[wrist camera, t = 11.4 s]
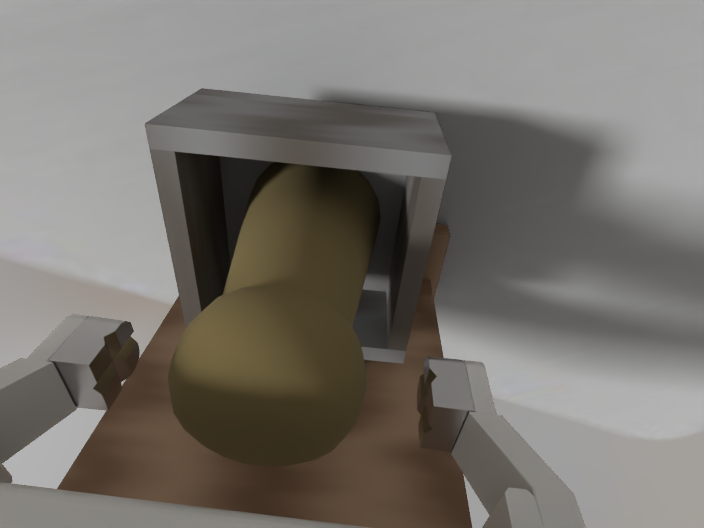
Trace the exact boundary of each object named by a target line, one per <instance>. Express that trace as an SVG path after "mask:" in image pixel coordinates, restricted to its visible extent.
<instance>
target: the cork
mask: <svg viewBox="0 0 704 528" xmlns="http://www.w3.org/2000/svg"><path fill="white" fill-rule="evenodd" d="M380 219H381V217H380V209H379V200H378V198H377V196H376V194H375V192H374V190H373V188H372V186H371V184H370V182H369V181H368V180H367V179H366V178H365V177H364V176H363V175H362V174H361V173H360V172H359V171H358V170H350V169H340V168H330V167H320V166H311V165H301V164H291V163H282V162H274V163H272V164H270V165H269V166H268V167H267V168H266V170H265V171H264V172H263V173H262V174H261V175H260V176H259V177H258V178H257V180H256V182H255V185H254V187H253V190H252V192H251V194H250V197H249V201H248V205H247V208H246V212H245V216H244V219H243V223H242V226H241V230H240V234H239V237H238V241H237V245H236V248H235V252H234V255H233V259H232V263H231V266H230V270H229V273H228V277H227V281H226V284H225V288H224V292H223V295H222V296H219V297H217V298H216V299H215V300H214V301H213V302H212V303H211V304H210V305H208V306H207V307H206V308H205V309H204V310H203V311H202V312H201V313H200V314H199V315H198V316H196V317H195V318H194V319H193V320H192V321H191V322H190V323H189V324H188V326H187V327H186V329H185V331H184V333H183V334H182V336H181V338H180V340H179V342H178V344H177V347H176V349H175V352H174V354H173V357H172V360H171V364H170V369H169V374H168V383H169V390H170V397H171V403H172V408H173V413H174V415H175V416H176V418H177V419H178V421H179V423H180V424H181V426H182V427H183V429H184V430H185V431H186V432H188V433H189V434H190V435H191V436H192V437H193V438H195V439H196V440H197V441H198V442H199V443H200V444H202V445H203V446H204V447H206V448H208V449H210V450H212V451H213V452H215V453H217V454H219V455H221V456H223V457H225V458H229V459H232V460H235V461H238V462H241V463H244V464H251V465H258V466H265V467H276V466H290V465H295V464H299V463H304V462H308V461H313V460H316V459H318V458H320V457H322V456H324V455H326V454H328V453H330V452H332V451H333V450H334V449H335V448H336V447H337V446H338V444H339V443H340V442H341V441H342V440H343V439H344V438H345V437H346V435H347V434H348V433H349V432H350V431H351V429H352V428H353V427H354V426H355V424H356V421H357V418H358V415H359V412H360V409H361V406H362V402H363V399H364V396H365V392H366V367H365V362H364V356H363V351H362V348H361V344H360V341H359V338H358V336H357V334H356V333H355V331H354V330H353V328H352V327H353V323H354V319H355V316H356V312H357V308H358V304H359V301H360V297H361V293H362V289H363V285H364V282H365V278H366V274H367V270H368V266H369V263H370V259H371V255H372V251H373V247H374V244H375V240H376V236H377V232H378V228H379V224H380Z"/></svg>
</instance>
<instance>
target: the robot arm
mask: <svg viewBox="0 0 704 528" xmlns="http://www.w3.org/2000/svg"><path fill="white" fill-rule="evenodd" d="M133 332H134V330H133V328H132V325H131V323H130V322H127V321H121V320H114V319H107V318H100V317H93V316H84V315H77V314H72V315H69V316H67V317H66V318H65V319H64V320H63V321H62V322H61V323H60V324H59V325H58V326H57V327H56V328H55V329H54V331H52V333H51V334H50V335H49V336H48V337H47V338H46V339H45V340H44V341H43V342H42V343H41V344H40V345H39V346H38V347H37V348H36V349H35V350H34V352H33V353H32V354H31V355H30V356H29V357H28V358H27V359H24V358H20V359H18V360H16V361H14V362H12V363H10V364H8V365H6V366H4V367H2V368H0V528H369V527H361V526H353V525H345V524H337V523H329V522H321V521H313V520H304V519H296V518H288V517H280V516H272V515H264V514H256V513H248V512H239V511H231V510H223V509H215V508H207V507H199V506H190V505H182V504H174V503H166V502H158V501H149V500H141V499H133V498H125V497H117V496H108V495H100V494H92V493H84V492H76V491H68V490H59V489H51V488H43V487H35V486H27V485H18V484H11V482H12V476H11V475H10V473H9V472H8V471H7V470H6V468H5V467H4V466H3V465H2V463H3V462H5V461H6V460H8V459H9V458H10V457H12V456H13V455H14V454H16V453H17V452H18V451H20V450H21V449H23V448H24V447H25V446H27V445H28V444H30V443H31V442H32V441H34V440H35V439H36V438H38V437H39V436H41V435H42V434H43V433H45V432H46V431H47V430H49V429H50V428H51V427H53V426H54V425H56V424H57V423H58V422H60V421H61V420H63V419H64V418H65V417H67V416H68V415H69V414H71V413H72V412H74V411H75V410H76V409H77V408H88V409H98V410H109V409H110V408H111V406H112V404H113V403H114V401H115V400H116V398H117V397H118V395H119V394H120V392H121V391H122V386H121V382H122V381H123V380H125V379H127V378H128V377H130V376H131V375H132V373H133V372H134V370H135V368H136V366H137V363H138V360H139V346H138V343H137V342H136V341H135V340H134V339H133V338H131V337H130V336H131V334H132V333H133ZM423 370H424V374H422V375H421V376H420V378H419V383H418V389H417V411H418V412H419V413H420V414H421V417H420V420H419V424H418V431H419V445H420V448H424V449H431V450H438V451H444V452H451V455H452V456H453V458H454V459H455V461H456V463H457V464H458V466H459V467H460V469H461V471H462V472H463V474H464V475H465V477H466V478H467V480H468V482H469V483H470V485H471V486H472V488H473V490H474V491H475V493H476V494H477V496H478V498H479V499H480V501H481V502H482V504H483V505H484V507H485V508H486V510H487V512H488V513H489V515H490V516H489V518H488V519H487V521H486V523H485V524H484V526H483V528H586V527H585V524H584V521H583V518H582V515H581V512H580V510H579V507H578V504H577V501H576V498H575V496H574V493H573V492H572V491H571V490H570V489H569V488H568V487H567V486H566V485H565V484H564V483H563V481H562V480H561V479H560V478H559V477H558V476H557V475H556V474H555V473H554V472H553V470H552V469H551V468H550V467H549V466H548V465H547V464H546V463H545V462H544V461H543V460H542V459H541V457H540V456H539V455H538V454H537V453H536V452H535V451H534V450H533V449H532V448H531V446H530V445H529V444H528V443H527V442H526V441H525V440H524V439H523V438H522V437H521V436H520V434H519V433H518V432H517V431H516V430H515V429H514V428H513V427H512V426H511V425H510V423H508V421H507V420H506V419H505V418H504V417H503V416H501V415H497V414H496V410H495V406H494V402H493V398H492V394H491V390H490V386H489V382H488V378H487V374H486V370H485V366H484V364H483V363H482V362H474V361H466V360H458V359H448V358H439V357H430V356H427V357H426V358H425V361H424V364H423ZM76 407H77V408H76Z"/></svg>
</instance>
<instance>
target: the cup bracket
mask: <svg viewBox="0 0 704 528" xmlns="http://www.w3.org/2000/svg"><path fill="white" fill-rule="evenodd" d="M145 128H146V133H147V138H148V143H149V148H150V153H151V158H152V163H153V168H154V173H155V178H156V183H157V188H158V193H159V198H160V203H161V207H162V212H163V217H164V222H165V227H166V232H167V237H168V242H169V247H170V252H171V257H172V262H173V267H174V272H175V277H176V282H177V287H178V292H179V297H178V298H177V300H176V301H175V303H174V305H173V306H172V308H171V309H170V311H169V313H168V314H167V316H166V317H165V319H164V320H163V322H162V324H161V325H160V327H159V329H158V330H157V332H156V333H155V335H154V336H153V338H152V340H151V341H150V343H149V344H148V346H147V347H146V349H145V351H144V352H143V354H142V355H141V357H140V358H139V360H138V363H137V366H136V368H135V370H134V372H133V373H132V375H131V376H130V377H128V378H127V379H126V381H125V382H124V384H123V385H122V391H121V392H120V394H119V395H118V397H117V398H116V400H115V401H114V403H113V404H112V406H111V408H110V409H109V410H107V411H106V412H105V414H104V416H103V417H102V419H101V420H100V422H99V424H98V425H97V427H96V429H95V430H94V432H93V433H92V434H91V436H90V438H89V439H88V441H87V442H86V444H85V446H84V447H83V449H82V450H81V452H80V453H79V455H78V457H77V458H76V460H75V461H74V463H73V465H72V466H71V468H70V469H69V471H68V473H67V474H66V476H65V477H64V479H63V481H62V482H61V484H60V485H59V487H58V488H57V489H59V490H68V491H76V492H84V493H92V494H100V495H108V496H117V497H125V498H133V499H141V500H149V501H158V502H166V503H174V504H182V505H190V506H199V507H207V508H215V509H223V510H231V511H239V512H248V513H256V514H264V515H272V516H280V517H288V518H296V519H304V520H313V521H321V522H329V523H337V524H345V525H353V526H361V527H369V528H472V524H471V518H470V512H469V507H468V500H467V494H466V488H465V482H464V476H463V472H462V471H461V469H460V467H459V466H458V464H457V463H456V461H455V459H454V458H453V456H452V455H451V452H444V451H438V450H431V449H424V448H420V445H419V431H418V424H419V420H420V417H421V414H420V413H419V412H418V411H417V389H418V383H419V378H420V376H421V375H422V374H424V370H423V364H424V361H425V358H426V357H427V356H430V357H439V358H443V352H442V346H441V340H440V335H439V329H438V323H437V317H436V311H435V305H434V296H435V292H436V288H437V284H438V280H439V277H440V273H441V269H442V265H443V261H444V257H445V254H446V250H447V246H448V242H449V238H450V233H449V230H448V226H447V225H438V224H436V221H437V217H438V212H439V208H440V204H441V200H442V195H443V191H444V187H445V182H446V178H447V174H448V170H449V165H450V161H451V157H452V155H451V152H450V150H449V148H448V145H447V143H446V140H445V138H444V135H443V133H442V130H441V128H440V126H439V123H438V121H437V118H436V116H435V113H433V112H424V111H414V110H405V109H395V108H385V107H376V106H366V105H356V104H347V103H337V102H328V101H318V100H308V99H299V98H289V97H280V96H270V95H260V94H251V93H241V92H231V91H222V90H212V89H203V88H202V89H200V90H198V91H197V92H195V93H194V94H192V95H190V96H189V97H187V98H185V99H184V100H182V101H181V102H179V103H177V104H176V105H174V106H172V107H171V108H169V109H168V110H166V111H164V112H163V113H161V114H160V115H158V116H156V117H155V118H153V119H151V120H150V121H148V122H147V123H145ZM274 162H282V163H291V164H301V165H311V166H320V167H330V168H340V169H350V170H358V171H359V172H360V173H361V174H362V175H363V176H364V177H365V178H366V179H367V180H368V181H369V182H370V184H371V186H372V188H373V190H374V192H375V194H376V196H377V198H378V200H379V209H380V217H381V219H380V224H379V228H378V232H377V236H376V240H375V244H374V247H373V251H372V255H371V259H370V263H369V266H368V270H367V274H366V278H365V282H364V285H363V289H362V293H361V297H360V301H359V304H358V308H357V312H356V316H355V319H354V323H353V327H352V328H353V330H354V331H355V333H356V334H357V336H358V338H359V341H360V344H361V348H362V351H363V356H364V362H365V367H366V392H365V396H364V399H363V402H362V406H361V409H360V412H359V415H358V418H357V421H356V424H355V426H354V427H353V428H352V429H351V431H350V432H349V433H348V434H347V435H346V437H345V438H344V439H343V440H342V441H341V442H340V443H339V444H338V446H337V447H336V448H335V449H334V450H333V451H332V452H330V453H328V454H326V455H324V456H322V457H320V458H318V459H316V460H313V461H308V462H304V463H299V464H295V465H290V466H276V467H265V466H258V465H251V464H244V463H241V462H238V461H235V460H232V459H229V458H225V457H223V456H221V455H219V454H217V453H215V452H213V451H212V450H210V449H208V448H206V447H204V446H203V445H202V444H200V443H199V442H198V441H197V440H196V439H195V438H193V437H192V436H191V435H190V434H189V433H188V432H186V431H185V430H184V429H183V427H182V426H181V424H180V423H179V421H178V419H177V418H176V416H175V415H174V413H173V408H172V403H171V397H170V390H169V383H168V374H169V369H170V364H171V360H172V357H173V354H174V352H175V349H176V347H177V344H178V342H179V340H180V338H181V336H182V334H183V333H184V331H185V329H186V327H187V326H188V324H189V323H190V322H191V321H192V320H193V319H194V318H195V317H196V316H198V315H199V314H200V313H201V312H202V311H203V310H204V309H205V308H206V307H207V306H208V305H210V304H211V303H212V302H213V301H214V300H215V299H216V298H217V297H219V296H222V295H223V292H224V288H225V284H226V281H227V277H228V273H229V270H230V266H231V263H232V259H233V255H234V252H235V248H236V245H237V241H238V237H239V234H240V230H241V226H242V223H243V219H244V216H245V212H246V208H247V205H248V201H249V197H250V194H251V192H252V190H253V187H254V185H255V182H256V180H257V178H258V177H259V176H260V175H261V174H262V173H263V172H264V171H265V170H266V168H267V167H268V166H269V165H270V164H272V163H274Z"/></svg>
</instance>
